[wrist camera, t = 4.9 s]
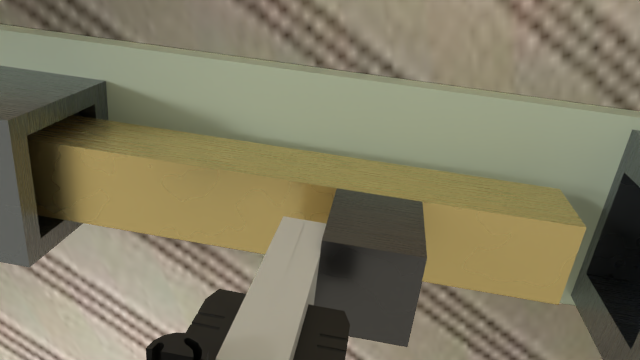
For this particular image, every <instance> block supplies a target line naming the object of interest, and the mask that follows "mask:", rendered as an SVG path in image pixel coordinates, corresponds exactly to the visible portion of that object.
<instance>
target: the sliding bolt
mask: <svg viewBox="0 0 640 360" xmlns="http://www.w3.org/2000/svg"><path fill="white" fill-rule="evenodd" d="M27 141H28V148H29V156H30V163H31V170H32V178H33V185H34V193H35V200H36V208H37V215H40V216H45V217H51V218H57V219H63V220H69V221H74V222H80V223H86V224H92V225H98V226H103V227H109V228H115V229H121V230H127V231H133V232H138V233H144V234H150V235H156V236H162V237H167V238H173V239H179V240H185V241H191V242H196V243H202V244H208V245H214V246H220V247H226V248H231V249H237V250H243V251H249V252H255V253H260V254H266V252H267V250H268V248H269V246H270V243H271V241H272V239H273V237H274V235H275V233H276V231H277V229H278V227H279V225H280V222H281V220H282V218H283V216H285V217H291V218H297V219H302V220H308V221H314V222H320V223H326V227H325V231H324V234H323V238H322V242H321V250H320V251H321V252H320V260H319V268H318V275H317V283H316V291H315V299H314V305H315V306H320V307H325V308H331V309H336V310H342V311H345V314H346V316H347V318H348V321H349V323H350V329H349V336H350V337H356V338H361V339H367V340H372V341H377V342H383V343H388V344H394V345H399V346H405V347H407V346H408V342H409V337H410V333H411V328H412V324H413V319H414V315H415V311H416V306H417V302H418V297H419V293H420V288H421V284H422V281H423V282H429V283H435V284H441V285H446V286H452V287H458V288H464V289H470V290H475V291H481V292H487V293H493V294H499V295H504V296H510V297H516V298H522V299H528V300H534V301H539V302H545V303H551V304H557V305H559V303H560V300H561V297H562V294H563V292H564V289H565V286H566V283H567V281H568V278H569V275H570V272H571V269H572V267H573V264H574V261H575V258H576V256H577V253H578V250H579V247H580V245H581V242H582V239H583V236H584V234H585V231H586V228H587V227H586V226H585V225H584V223H583V222H582V220H581V219H580V217H579V216H578V214H577V213H576V211H575V210H574V209H573V207H572V206H571V204H570V203H569V201H568V200H567V198H566V197H565V196H564V194H563V193H562V191H561V190H560V189H557V188H550V187H543V186H537V185H530V184H524V183H517V182H510V181H504V180H497V179H491V178H484V177H477V176H471V175H464V174H458V173H451V172H445V171H438V170H431V169H425V168H418V167H412V166H405V165H398V164H392V163H385V162H379V161H372V160H366V159H359V158H352V157H346V156H339V155H333V154H326V153H319V152H313V151H306V150H300V149H293V148H286V147H280V146H273V145H267V144H260V143H254V142H247V141H240V140H234V139H227V138H221V137H214V136H207V135H201V134H194V133H188V132H181V131H175V130H168V129H161V128H155V127H148V126H142V125H135V124H128V123H122V122H115V121H109V120H102V119H96V118H89V117H82V116H76V115H70V116H68V117H66V118H64V119H62V120H60V121H57V122H55V123H53V124H51V125H49V126H47V127H45V128H42V129H40V130H38V131H36V132H34V133H32V134H30V135H27Z"/></svg>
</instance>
